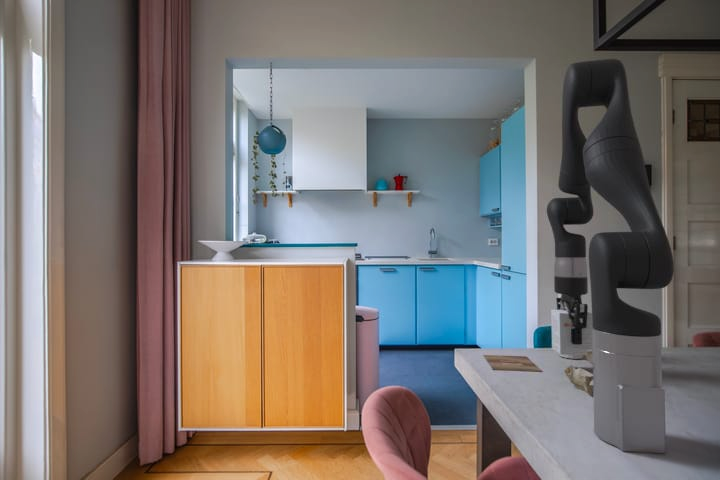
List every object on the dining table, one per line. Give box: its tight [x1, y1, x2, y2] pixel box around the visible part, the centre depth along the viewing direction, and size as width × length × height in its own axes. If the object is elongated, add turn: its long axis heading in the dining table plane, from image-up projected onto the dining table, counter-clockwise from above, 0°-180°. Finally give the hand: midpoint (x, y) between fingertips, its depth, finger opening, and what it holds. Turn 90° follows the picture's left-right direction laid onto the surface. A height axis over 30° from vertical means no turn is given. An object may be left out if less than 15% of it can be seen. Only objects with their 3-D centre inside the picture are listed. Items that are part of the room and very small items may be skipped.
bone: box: [564, 350, 593, 396], centre depth 85 cm, size 9×6×10 cm
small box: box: [550, 309, 593, 356], centre depth 100 cm, size 8×6×10 cm
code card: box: [482, 354, 543, 373], centre depth 106 cm, size 14×12×1 cm
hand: (571, 340), depth 100 cm, fingers closed on small box, 5 cm apart
